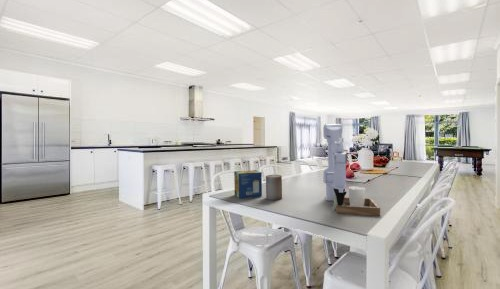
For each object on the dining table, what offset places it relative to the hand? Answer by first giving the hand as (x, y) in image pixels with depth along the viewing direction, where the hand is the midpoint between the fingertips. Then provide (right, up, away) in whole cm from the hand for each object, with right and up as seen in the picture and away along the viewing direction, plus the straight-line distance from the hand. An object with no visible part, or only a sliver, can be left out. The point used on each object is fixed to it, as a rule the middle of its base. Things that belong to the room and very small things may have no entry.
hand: (339, 204), depth 125 cm
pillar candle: (-30, -3, +26) cm, 40 cm away
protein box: (-46, -3, +33) cm, 57 cm away
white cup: (+11, -3, +5) cm, 12 cm away
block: (-1, -2, 0) cm, 2 cm away
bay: (+8, -3, +2) cm, 9 cm away
